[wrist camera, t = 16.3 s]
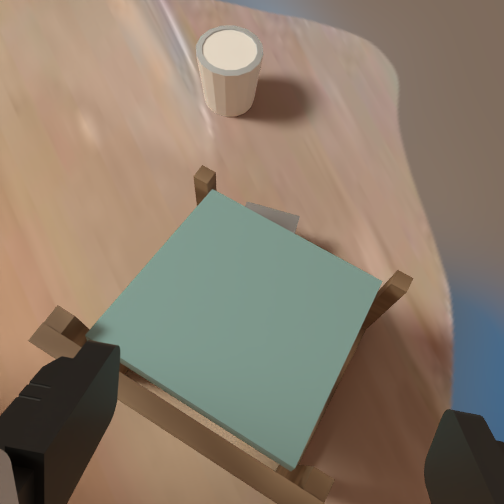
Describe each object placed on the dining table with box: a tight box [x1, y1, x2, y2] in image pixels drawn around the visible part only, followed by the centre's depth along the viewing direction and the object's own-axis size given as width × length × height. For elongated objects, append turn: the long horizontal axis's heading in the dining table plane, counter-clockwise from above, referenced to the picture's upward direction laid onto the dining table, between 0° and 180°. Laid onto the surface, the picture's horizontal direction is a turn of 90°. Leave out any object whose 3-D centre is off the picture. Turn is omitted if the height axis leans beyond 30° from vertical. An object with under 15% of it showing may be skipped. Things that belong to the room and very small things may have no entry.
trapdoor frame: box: [29, 165, 413, 504], centre depth 35 cm, size 17×18×17 cm
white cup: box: [196, 26, 263, 117], centre depth 51 cm, size 7×7×7 cm
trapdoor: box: [85, 189, 382, 471], centre depth 31 cm, size 14×14×1 cm
